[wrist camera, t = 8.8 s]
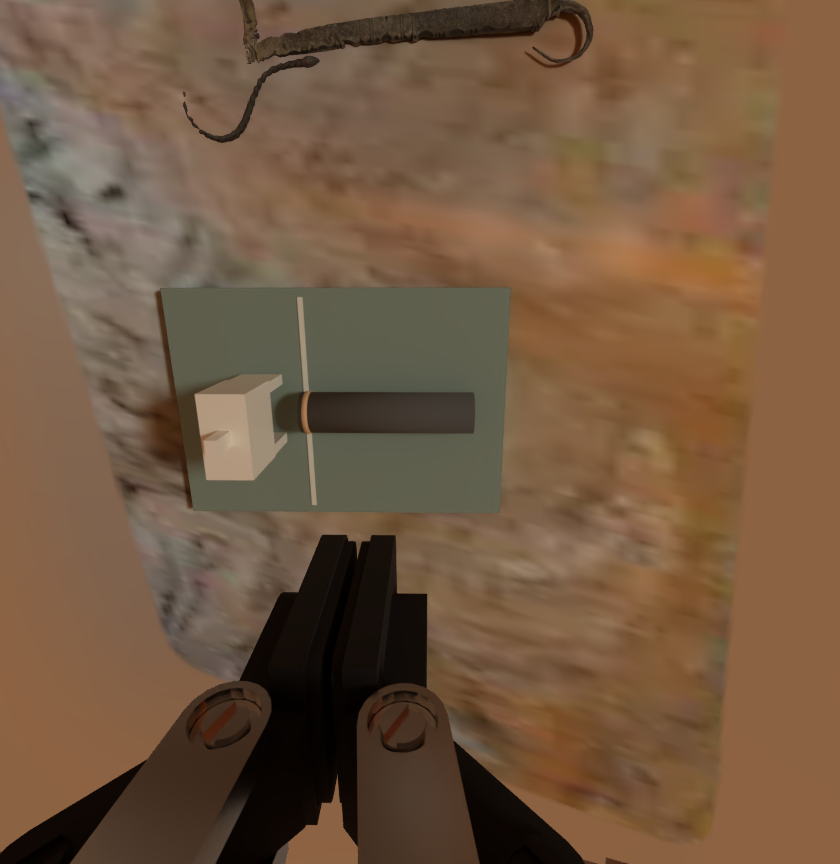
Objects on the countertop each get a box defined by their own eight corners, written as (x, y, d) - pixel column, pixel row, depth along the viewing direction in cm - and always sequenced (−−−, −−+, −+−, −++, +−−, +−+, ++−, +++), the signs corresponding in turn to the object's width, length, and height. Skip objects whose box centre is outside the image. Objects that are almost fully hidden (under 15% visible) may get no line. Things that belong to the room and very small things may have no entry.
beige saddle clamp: (241, 372, 29) (177, 402, 22) (281, 372, 29) (231, 402, 22) (249, 442, 30) (191, 493, 23) (287, 443, 30) (241, 493, 23)
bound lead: (306, 387, 29) (295, 396, 27) (472, 387, 29) (475, 396, 27) (309, 426, 30) (298, 439, 28) (470, 427, 30) (474, 439, 28)
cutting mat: (167, 288, 29) (159, 288, 28) (508, 287, 28) (510, 287, 27) (199, 505, 33) (193, 511, 32) (497, 507, 32) (499, 513, 31)
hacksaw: (653, -118, 23) (667, -144, 22) (632, 128, 26) (644, 119, 25) (156, -89, 24) (138, -113, 23) (191, 147, 27) (177, 139, 26)
